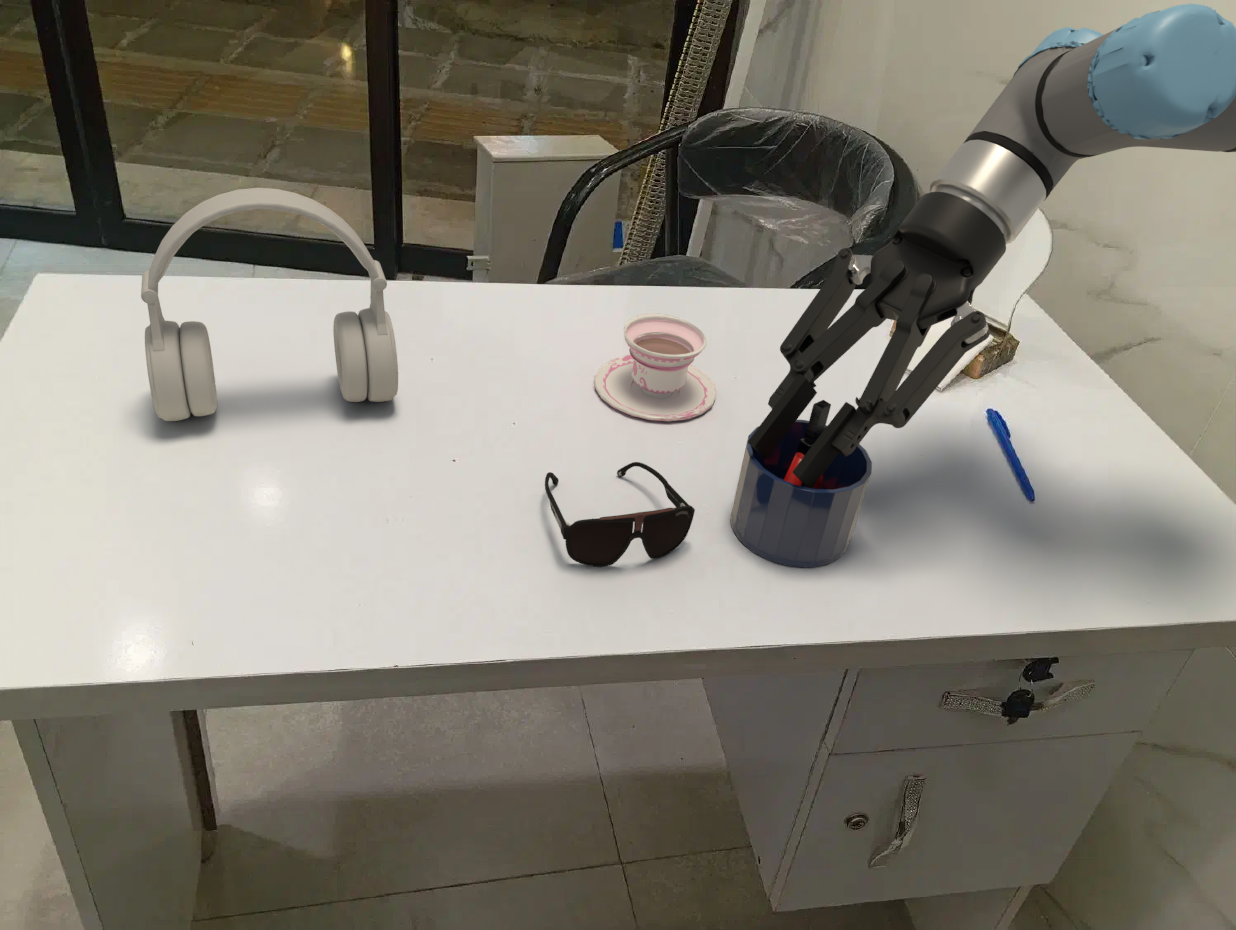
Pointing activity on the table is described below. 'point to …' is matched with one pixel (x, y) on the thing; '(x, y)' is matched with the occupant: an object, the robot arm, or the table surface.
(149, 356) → the headphones
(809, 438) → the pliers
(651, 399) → the teacup
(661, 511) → the sunglasses
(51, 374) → the table surface
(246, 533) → the table surface
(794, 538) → the pen cup
